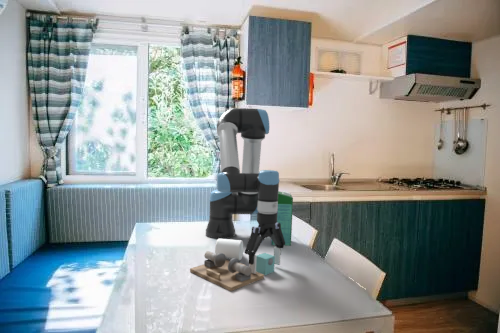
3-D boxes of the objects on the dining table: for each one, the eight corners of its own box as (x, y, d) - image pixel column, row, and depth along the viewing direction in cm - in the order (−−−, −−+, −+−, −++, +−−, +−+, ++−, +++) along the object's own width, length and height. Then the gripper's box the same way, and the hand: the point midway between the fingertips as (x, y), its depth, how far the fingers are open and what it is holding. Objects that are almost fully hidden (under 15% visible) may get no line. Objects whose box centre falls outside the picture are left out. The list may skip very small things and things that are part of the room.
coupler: (254, 271, 130) (255, 255, 130) (263, 267, 134) (264, 252, 133) (265, 275, 126) (266, 259, 126) (274, 271, 130) (275, 256, 129)
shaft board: (190, 271, 127) (190, 253, 127) (222, 261, 139) (223, 244, 138) (231, 291, 112) (231, 270, 111) (264, 278, 123) (264, 258, 123)
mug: (238, 263, 138) (239, 243, 137) (214, 260, 140) (215, 241, 139) (245, 253, 149) (245, 235, 149) (222, 251, 151) (223, 233, 151)
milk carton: (291, 245, 162) (293, 192, 160) (271, 245, 162) (273, 192, 160) (289, 240, 171) (291, 190, 169) (270, 239, 171) (272, 189, 169)
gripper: (251, 217, 117) (249, 279, 118) (295, 210, 135) (293, 263, 136) (236, 214, 122) (233, 273, 123) (280, 207, 140) (278, 258, 141)
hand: (265, 268), depth 129 cm, fingers open, 13 cm apart
